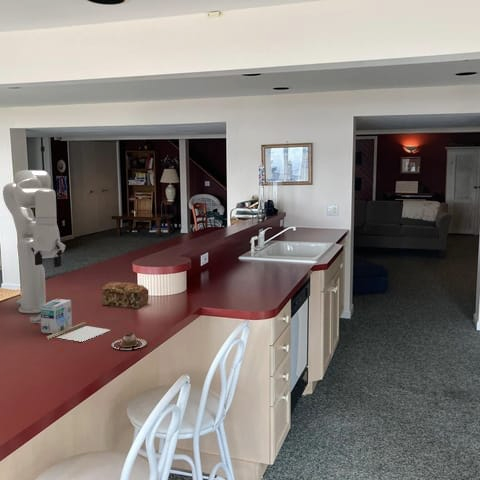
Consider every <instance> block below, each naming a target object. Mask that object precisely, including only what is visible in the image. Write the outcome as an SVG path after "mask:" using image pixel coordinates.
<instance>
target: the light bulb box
mask: <svg viewBox="0 0 480 480" xmlns="http://www.w3.org/2000/svg"><path fill="white" fill-rule="evenodd" d="M40 306H41V312H40V314H41V320H40V321H41V324H40V326H41V333H42V332H43V333H42V334H49V333H52V334H54V333H57V332H60V331H62V330H65V329H68V328H70V327H73V326H72V325H73V320H72V300H71V299H62V298H55V299H52V300H51V301H48V302H47V301H46V303H45V304H42V305H40ZM52 334H51V335H52Z"/></svg>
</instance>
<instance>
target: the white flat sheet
mask: <svg viewBox="0 0 480 480" xmlns="http://www.w3.org/2000/svg"><path fill="white" fill-rule="evenodd" d="M106 332H107V333H109V332H111V329H108V328H101V327H95V326H89V325H85V326H83V327H80V328H77V329H75V330H72V331H70V332H67V333H64V334H62V335H59V336H57V337H56V339H57V338H62V339H67V340H74V341H79V342H81V341H82V342H83V341H86V340H88V339H90V340H92V339H91V338H93V339H94V337H95V338H97V337H99V335H100V336H102V335H105V334H107V333H106ZM104 333H105V334H104ZM96 336H97V337H96ZM62 339H61V340H62ZM67 340H66V341H67ZM88 341H89V340H88ZM86 342H87V341H86ZM83 343H84V342H83Z"/></svg>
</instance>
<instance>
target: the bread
mask: <svg viewBox="0 0 480 480" xmlns="http://www.w3.org/2000/svg"><path fill="white" fill-rule="evenodd" d="M100 294H101V301H102V305H104V306H107V305H108V306H111V307H118V308H119V307H120V308H134V309H139V308H142V307H143V306H146V305H148V303H149V289H148V288H146V286H144V285H143V284H136V283H132V282H118V281H115V282H114V281H110V282H107V283H106V284H104V285H102V289H101V293H100Z"/></svg>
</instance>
